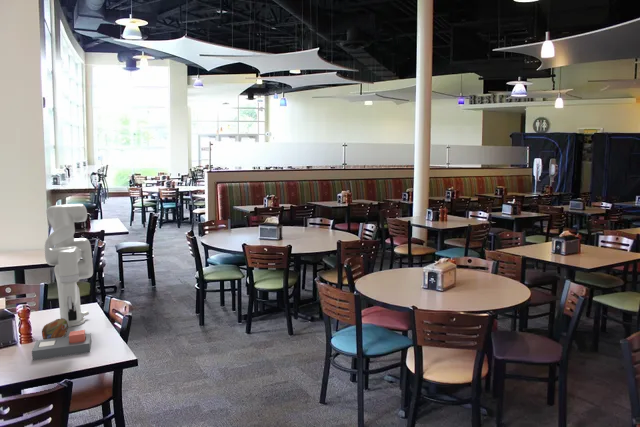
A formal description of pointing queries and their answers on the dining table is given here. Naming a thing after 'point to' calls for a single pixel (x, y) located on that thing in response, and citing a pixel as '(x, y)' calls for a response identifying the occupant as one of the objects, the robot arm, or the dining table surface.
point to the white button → (47, 343)
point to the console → (61, 348)
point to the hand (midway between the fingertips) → (72, 319)
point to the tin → (55, 329)
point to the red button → (77, 336)
